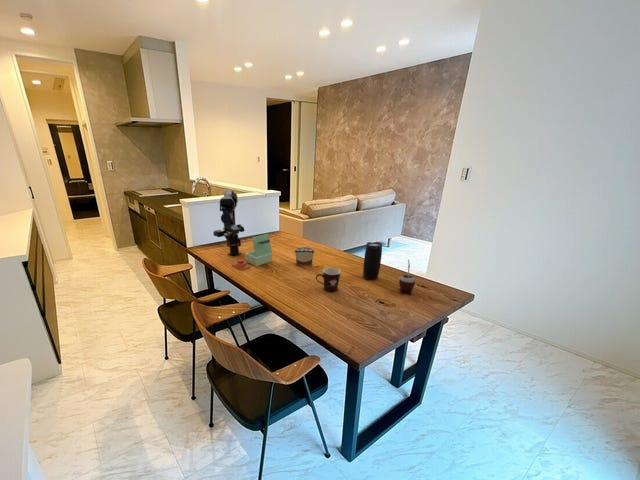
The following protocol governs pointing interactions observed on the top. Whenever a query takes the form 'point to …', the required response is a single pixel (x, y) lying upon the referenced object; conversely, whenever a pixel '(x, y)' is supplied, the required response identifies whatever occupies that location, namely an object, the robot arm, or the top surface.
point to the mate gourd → (407, 282)
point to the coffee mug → (330, 279)
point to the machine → (258, 258)
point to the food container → (304, 256)
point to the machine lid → (262, 245)
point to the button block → (241, 265)
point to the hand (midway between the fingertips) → (230, 244)
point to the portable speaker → (372, 260)
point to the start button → (240, 261)
